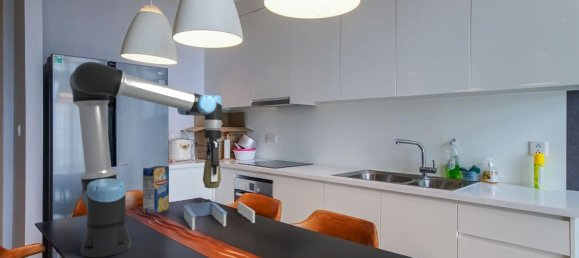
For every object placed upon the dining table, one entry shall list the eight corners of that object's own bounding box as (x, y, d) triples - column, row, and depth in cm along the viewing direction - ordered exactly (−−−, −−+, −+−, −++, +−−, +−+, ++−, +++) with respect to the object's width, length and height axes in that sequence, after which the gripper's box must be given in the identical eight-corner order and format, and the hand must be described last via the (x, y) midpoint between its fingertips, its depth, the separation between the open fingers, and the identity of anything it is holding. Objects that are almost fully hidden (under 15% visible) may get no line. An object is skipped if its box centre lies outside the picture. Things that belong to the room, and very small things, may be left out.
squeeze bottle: (216, 189, 149) (217, 148, 149) (199, 188, 150) (200, 147, 151) (223, 186, 157) (224, 147, 157) (207, 185, 158) (207, 146, 159)
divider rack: (254, 222, 151) (254, 209, 151) (191, 230, 139) (191, 215, 139) (239, 211, 172) (239, 199, 172) (182, 217, 160) (182, 204, 160)
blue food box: (142, 212, 168) (142, 168, 168) (157, 207, 179) (158, 165, 179) (154, 213, 166) (154, 168, 166) (168, 208, 177) (169, 166, 177)
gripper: (227, 129, 146) (226, 183, 146) (215, 129, 165) (214, 177, 165) (209, 129, 143) (208, 183, 143) (200, 129, 162) (198, 177, 161)
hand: (211, 180), depth 154 cm, fingers closed on squeeze bottle, 8 cm apart
